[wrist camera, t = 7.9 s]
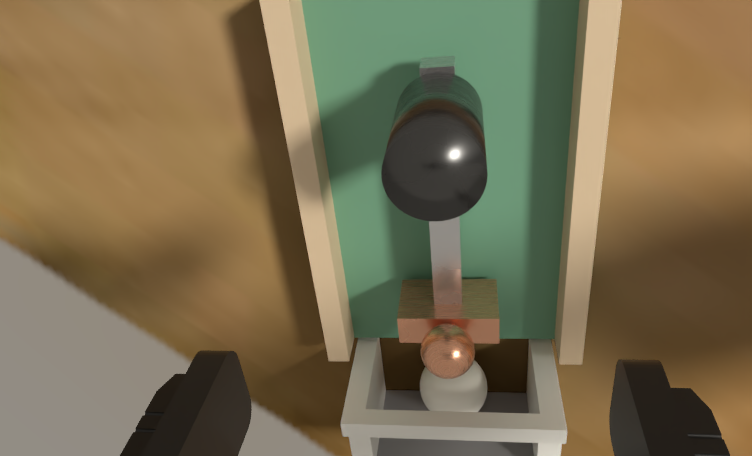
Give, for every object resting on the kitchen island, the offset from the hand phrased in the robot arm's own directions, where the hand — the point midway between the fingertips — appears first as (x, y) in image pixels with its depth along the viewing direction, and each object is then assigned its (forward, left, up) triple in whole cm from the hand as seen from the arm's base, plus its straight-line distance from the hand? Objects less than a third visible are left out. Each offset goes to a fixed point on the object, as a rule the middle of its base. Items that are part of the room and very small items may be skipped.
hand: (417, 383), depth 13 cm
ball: (0, +18, -17) cm, 24 cm away
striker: (0, +5, -17) cm, 18 cm away
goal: (0, +18, -19) cm, 26 cm away
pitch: (0, +5, -19) cm, 19 cm away
